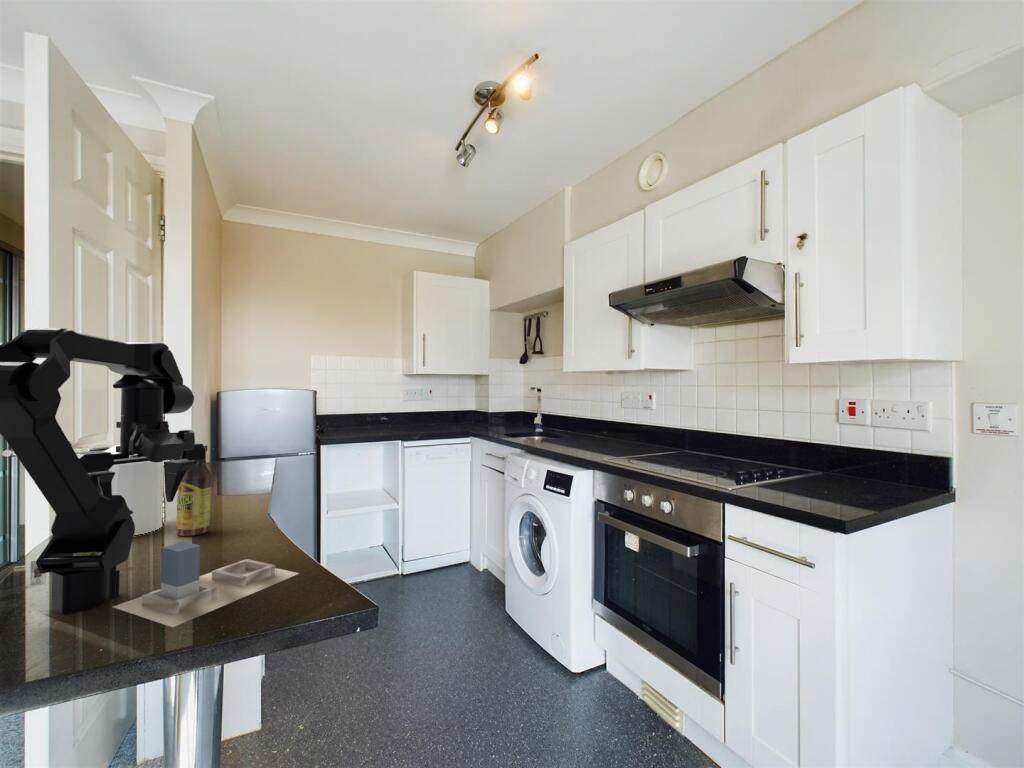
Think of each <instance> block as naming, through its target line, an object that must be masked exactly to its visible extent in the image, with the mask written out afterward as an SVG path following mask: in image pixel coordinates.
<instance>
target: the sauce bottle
mask: <svg viewBox="0 0 1024 768" xmlns="http://www.w3.org/2000/svg"><path fill="white" fill-rule="evenodd" d="M202 444H203V443H202ZM203 445H204V447H205V448H206V453H207V452H208V444H203ZM206 460H207V458H206V459H199V460H194V461H199V463H198V464H196V465H193V466H192V467H191V468H190V469H189V470H188V471H187V472H186V473H185V475H184V477H183V479H182V481H181V483H180V485H179V488H178V490H177V496H176V497H177V499H176V521H175V522H176V523H175V527H176V535H177V536H178V537H179V536H180V537H182V536H183V537H192V536H198V535H202V534H206V533H207V532H208V531H209V529H210V528H209V525H210V523H211V521H210V519H211V500H212V497H211V496H212V485H211V483H212V475H211V474H212V473H211V471H210V470H209V468H208V467H207V461H206Z"/></svg>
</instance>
